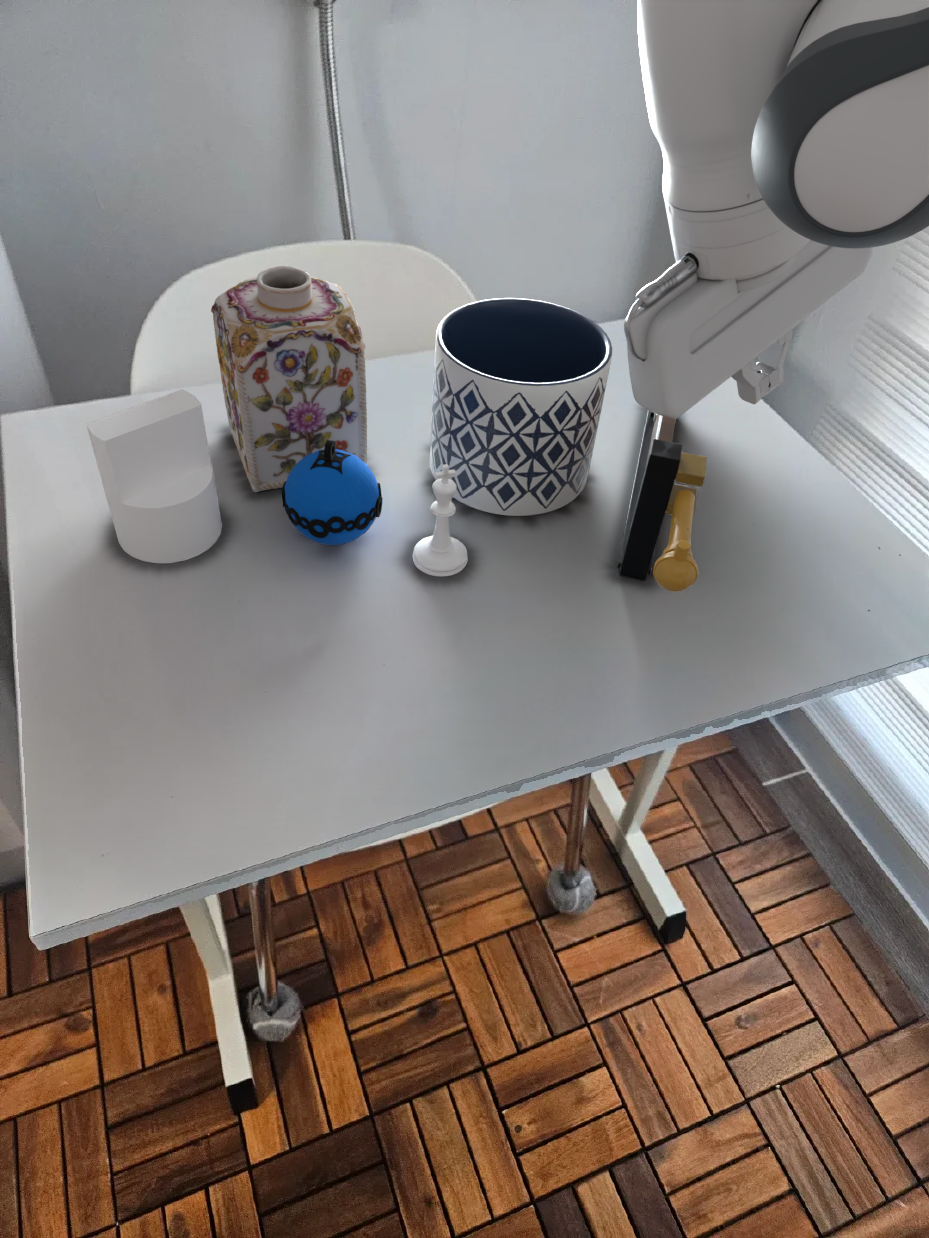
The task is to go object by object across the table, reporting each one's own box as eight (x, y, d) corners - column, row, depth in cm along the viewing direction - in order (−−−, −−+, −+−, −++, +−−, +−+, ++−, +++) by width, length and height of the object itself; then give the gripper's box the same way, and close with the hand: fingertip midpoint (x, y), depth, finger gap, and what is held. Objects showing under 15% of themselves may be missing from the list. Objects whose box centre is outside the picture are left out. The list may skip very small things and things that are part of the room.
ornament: (301, 499, 84) (294, 407, 77) (390, 513, 83) (391, 421, 76) (273, 558, 78) (262, 464, 71) (369, 573, 77) (367, 480, 70)
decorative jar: (338, 412, 95) (331, 243, 82) (370, 475, 87) (369, 300, 74) (225, 429, 91) (199, 255, 78) (249, 496, 84) (225, 316, 71)
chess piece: (405, 545, 80) (407, 453, 73) (457, 536, 82) (464, 444, 74) (421, 581, 77) (425, 488, 70) (475, 571, 78) (484, 479, 71)
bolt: (660, 509, 73) (672, 467, 70) (699, 517, 72) (713, 475, 69) (647, 596, 65) (659, 552, 62) (690, 605, 65) (705, 562, 62)
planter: (558, 421, 96) (579, 293, 86) (609, 511, 86) (640, 378, 75) (414, 432, 93) (418, 301, 83) (449, 528, 82) (459, 391, 72)
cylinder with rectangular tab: (188, 487, 84) (166, 373, 75) (241, 535, 80) (224, 420, 71) (98, 525, 79) (64, 408, 71) (150, 578, 75) (120, 460, 66)
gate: (652, 414, 97) (678, 309, 88) (670, 418, 96) (698, 313, 88) (625, 547, 80) (654, 434, 72) (647, 552, 80) (678, 439, 72)
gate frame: (648, 409, 99) (675, 298, 90) (691, 417, 99) (723, 306, 89) (615, 577, 79) (645, 455, 70) (669, 589, 78) (708, 468, 69)
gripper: (655, 319, 53) (691, 488, 63) (891, 142, 56) (890, 328, 66) (587, 294, 57) (631, 456, 67) (810, 131, 61) (821, 307, 70)
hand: (761, 391), depth 67 cm, fingers closed
